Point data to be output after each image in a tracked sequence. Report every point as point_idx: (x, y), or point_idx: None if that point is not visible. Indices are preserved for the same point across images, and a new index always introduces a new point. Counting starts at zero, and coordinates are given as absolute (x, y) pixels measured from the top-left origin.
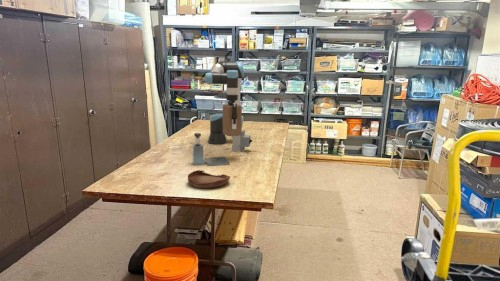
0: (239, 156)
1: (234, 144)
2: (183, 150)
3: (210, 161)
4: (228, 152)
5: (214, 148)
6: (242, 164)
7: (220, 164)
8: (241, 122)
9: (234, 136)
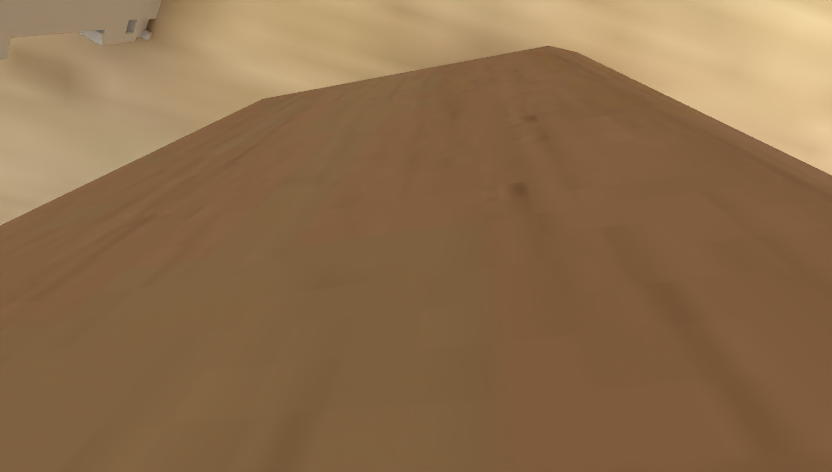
0: (402, 9)
1: (104, 7)
2: None
3: None
4: (205, 92)
5: (31, 196)
6: (735, 75)
7: None
8: (697, 114)
9: (7, 10)
